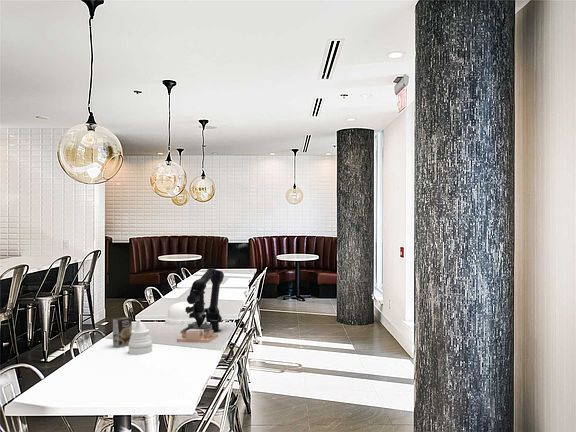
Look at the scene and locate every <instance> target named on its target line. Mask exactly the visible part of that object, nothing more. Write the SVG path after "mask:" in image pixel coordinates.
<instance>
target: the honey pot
mask: <svg viewBox="0 0 576 432" xmlns="http://www.w3.org/2000/svg"><path fill="white" fill-rule="evenodd" d="M135 323H136V324H135V325H134V328H132V331H131V333H132V335H131V337H130V342H129V345H128V354H129V355H134V356H135V355H146V354H150V353H152V352H153V341H152V338H151V335H150V329H148V328H147V326H146V325H145V324H144V322H143V321H141V319H136V320H135Z"/></svg>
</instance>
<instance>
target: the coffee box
mask: <svg viewBox="0 0 576 432" xmlns="http://www.w3.org/2000/svg"><path fill="white" fill-rule="evenodd" d="M132 319H133V318H132V317H129V316H124V317H118V318H112V338H113V339H112V345H113V347H114V348H119V349H120V348H124V347H129V342H130V337H131V335H132V333H131V331H132V330H133V326H132V325H133V323H132Z"/></svg>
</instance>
